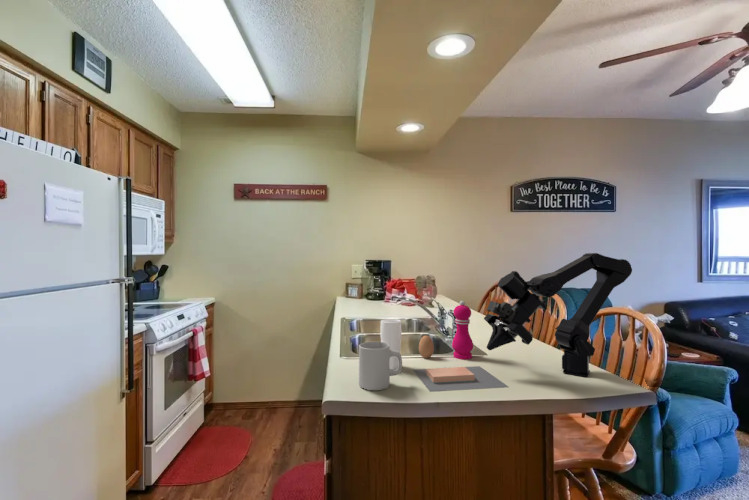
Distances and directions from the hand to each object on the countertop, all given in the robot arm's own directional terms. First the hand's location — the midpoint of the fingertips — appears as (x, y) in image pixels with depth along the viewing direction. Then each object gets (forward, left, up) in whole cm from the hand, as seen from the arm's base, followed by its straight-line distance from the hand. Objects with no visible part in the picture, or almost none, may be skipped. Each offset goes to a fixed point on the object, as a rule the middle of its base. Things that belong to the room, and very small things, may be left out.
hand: (488, 349), depth 103 cm
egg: (+24, -6, -8) cm, 26 cm away
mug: (+22, +24, -8) cm, 33 cm away
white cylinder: (+28, +10, -8) cm, 31 cm away
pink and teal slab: (+4, +4, -7) cm, 9 cm away
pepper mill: (+14, -14, -8) cm, 22 cm away
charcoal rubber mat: (+7, +7, -8) cm, 13 cm away
